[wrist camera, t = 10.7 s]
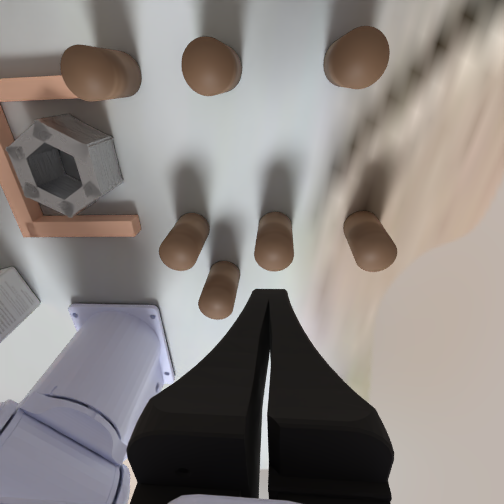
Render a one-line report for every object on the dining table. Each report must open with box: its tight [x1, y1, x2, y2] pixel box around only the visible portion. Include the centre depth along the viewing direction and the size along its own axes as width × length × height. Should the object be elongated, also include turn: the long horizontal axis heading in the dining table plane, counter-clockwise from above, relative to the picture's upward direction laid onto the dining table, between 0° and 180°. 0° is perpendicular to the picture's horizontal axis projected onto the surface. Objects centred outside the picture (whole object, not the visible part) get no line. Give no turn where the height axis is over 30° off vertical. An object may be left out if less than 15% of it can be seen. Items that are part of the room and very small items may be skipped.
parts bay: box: [0, 75, 141, 237], centre depth 21 cm, size 10×9×1 cm
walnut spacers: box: [60, 26, 397, 319], centre depth 19 cm, size 20×18×4 cm
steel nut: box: [5, 114, 123, 218], centre depth 20 cm, size 6×5×3 cm
